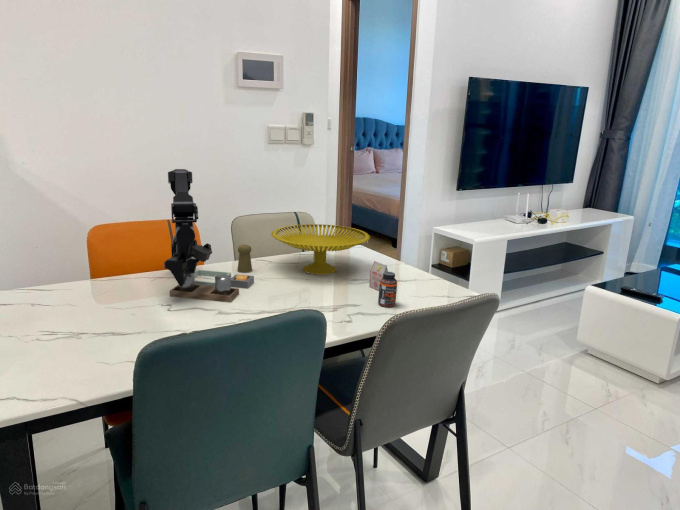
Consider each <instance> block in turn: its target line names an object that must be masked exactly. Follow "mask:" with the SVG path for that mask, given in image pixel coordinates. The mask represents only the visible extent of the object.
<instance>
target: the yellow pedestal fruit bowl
mask: <svg viewBox="0 0 680 510" xmlns="http://www.w3.org/2000/svg"><path fill="white" fill-rule="evenodd" d="M318 228H319V229H318ZM322 228H323V229H322ZM314 229H315V230H314ZM333 230H334V231H333ZM318 231H319V232H318ZM325 232H326V233H325ZM270 235H271V237H272V238H274V239H275V240H277V241H278V242H280V243H283V244H285V245H287V246H289V247H292V248H294V249H298V250H302V251H309V252H310V251H311V252H313V262H312V263H310V264H309V263H308V264H307V265H304V266H303V267H302V270H304V271H303V272H305V273H307V272H308V273H307V274H311V273H313V274H312V275H329V274H330V273H331V274H334V273H336V272H337V268H336V267H335V266H333V265H331V264H329V263H328V262H327V252H337V251H338V252H340V251H345V250H349V249H351V248H354V247H356V246H359V245H361V244H363V243H365V242H368V241H369V240H370V239H371V235H369V234H368V232H366V231H364V230H361V229H357V228H355V227H354V228H353V227H349V226H343V225H336V224H324V223H323V224H321V223H320V224H319V223H317V224H315V223H313V224H311V223H310V224H306V223H305V224H294V225H285V226H282V227H279V228H278V227H277V228H276V229H273V230H272V231H271V233H270ZM335 271H336V272H335Z"/></svg>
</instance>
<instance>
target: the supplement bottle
mask: <svg viewBox="0 0 680 510" xmlns="http://www.w3.org/2000/svg"><path fill="white" fill-rule="evenodd" d="M397 290H398V280H397V279H396V273H395V272H393V271H388V272H384V273H383V278H381V279H380V284H379V291H378V299H377V303H378V305H379V306H380V307H384V308H392V307H395V306H396V303H397V302H396V300H397Z"/></svg>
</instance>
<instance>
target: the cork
mask: <svg viewBox="0 0 680 510" xmlns="http://www.w3.org/2000/svg"><path fill="white" fill-rule="evenodd" d="M237 251H238V253H239V254H238V262H237V270H236V271H237V272H238V273H241V274H249V273H252V272H253V266H252V259H251V252H252V246H251V245H249V244H240V245H239V246H238V247H237Z"/></svg>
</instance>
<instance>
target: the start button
mask: <svg viewBox="0 0 680 510" xmlns="http://www.w3.org/2000/svg"><path fill="white" fill-rule="evenodd" d="M246 275H247V274H237V276H236V280H244V281H246V280H247V276H246Z"/></svg>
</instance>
